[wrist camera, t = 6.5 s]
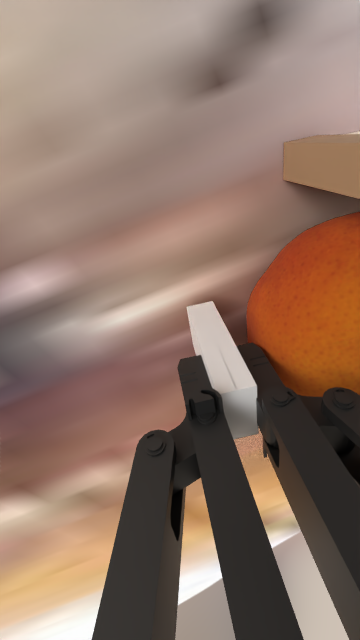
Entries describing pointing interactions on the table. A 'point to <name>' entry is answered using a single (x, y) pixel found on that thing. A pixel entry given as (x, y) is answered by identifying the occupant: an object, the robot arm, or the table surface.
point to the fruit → (312, 309)
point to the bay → (325, 163)
